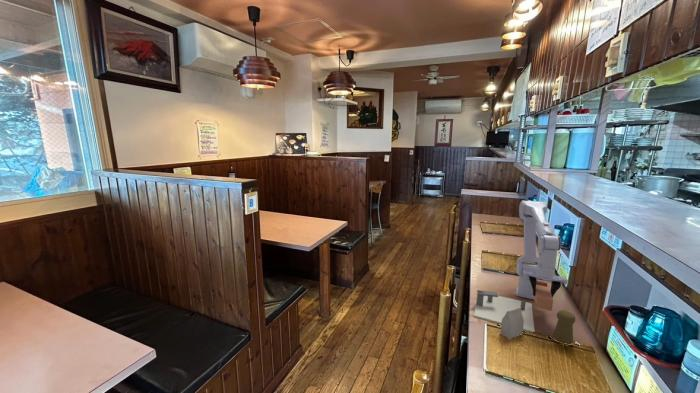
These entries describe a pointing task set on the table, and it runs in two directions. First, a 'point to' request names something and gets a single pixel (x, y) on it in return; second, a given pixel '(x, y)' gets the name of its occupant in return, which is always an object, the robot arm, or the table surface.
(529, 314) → the board
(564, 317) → the cork
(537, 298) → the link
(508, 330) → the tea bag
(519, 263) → the robot arm
